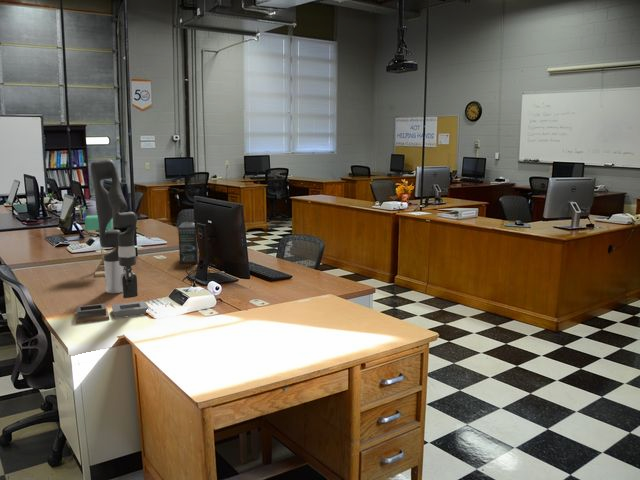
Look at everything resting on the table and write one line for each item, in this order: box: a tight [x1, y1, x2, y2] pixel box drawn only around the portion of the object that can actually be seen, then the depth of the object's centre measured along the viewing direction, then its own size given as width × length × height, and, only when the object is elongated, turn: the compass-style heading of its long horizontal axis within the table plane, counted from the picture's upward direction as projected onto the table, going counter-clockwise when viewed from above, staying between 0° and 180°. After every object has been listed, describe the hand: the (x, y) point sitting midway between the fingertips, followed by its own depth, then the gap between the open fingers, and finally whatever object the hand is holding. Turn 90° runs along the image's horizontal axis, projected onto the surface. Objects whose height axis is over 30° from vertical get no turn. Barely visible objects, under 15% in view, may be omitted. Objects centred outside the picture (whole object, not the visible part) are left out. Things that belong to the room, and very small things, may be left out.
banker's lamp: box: [84, 214, 115, 278], centre depth 339 cm, size 16×21×35 cm
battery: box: [121, 272, 139, 299], centre depth 265 cm, size 7×4×11 cm, turn 125°
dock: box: [111, 300, 149, 319], centre depth 267 cm, size 12×15×3 cm
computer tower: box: [177, 221, 199, 264], centre depth 375 cm, size 22×12×26 cm, turn 6°
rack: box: [74, 303, 110, 325], centre depth 260 cm, size 14×14×4 cm
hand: (129, 290), depth 265 cm, fingers closed on battery, 4 cm apart
